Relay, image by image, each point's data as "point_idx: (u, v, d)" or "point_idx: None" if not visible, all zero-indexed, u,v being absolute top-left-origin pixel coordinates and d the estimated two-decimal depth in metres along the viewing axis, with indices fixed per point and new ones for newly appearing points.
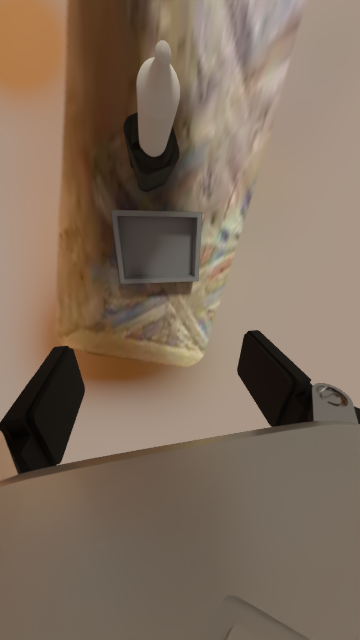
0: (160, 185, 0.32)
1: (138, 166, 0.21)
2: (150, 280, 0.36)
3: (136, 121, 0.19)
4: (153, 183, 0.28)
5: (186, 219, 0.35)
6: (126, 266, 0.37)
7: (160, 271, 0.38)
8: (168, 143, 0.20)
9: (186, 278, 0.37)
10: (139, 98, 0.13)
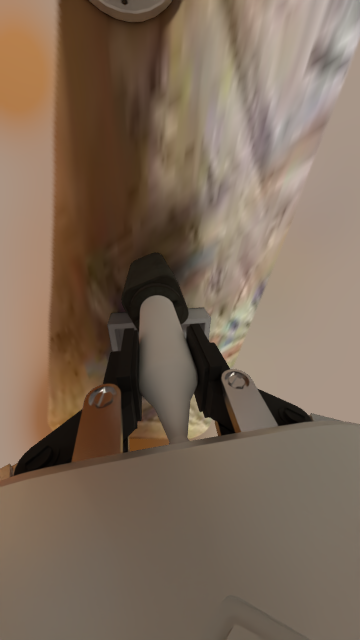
0: None
1: (139, 331, 0.17)
2: None
3: (137, 299, 0.15)
4: None
5: None
6: None
7: None
8: (176, 313, 0.16)
9: None
10: (142, 394, 0.09)
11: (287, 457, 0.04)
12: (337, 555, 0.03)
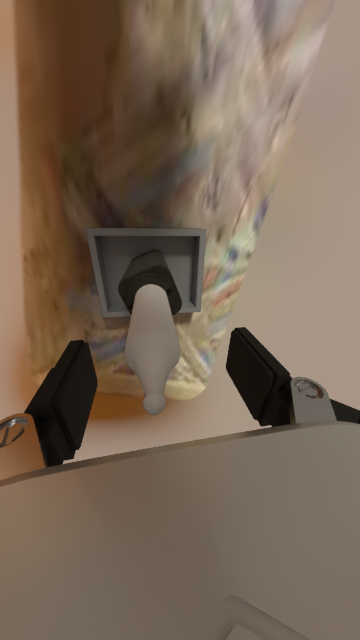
0: None
1: None
2: None
3: (132, 287, 0.16)
4: None
5: (185, 236, 0.28)
6: (111, 294, 0.30)
7: None
8: (169, 302, 0.17)
9: (185, 309, 0.30)
10: (128, 365, 0.10)
11: (287, 457, 0.04)
12: (337, 555, 0.03)
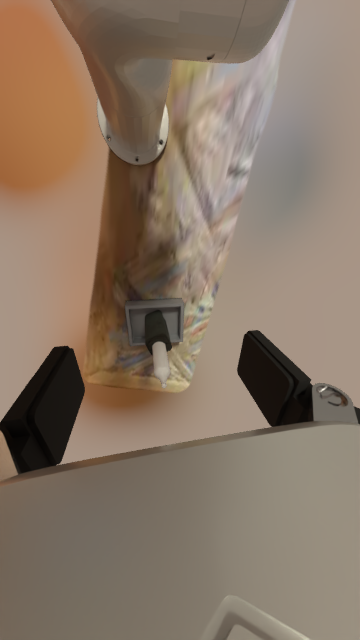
0: None
1: (151, 354, 0.43)
2: None
3: (151, 343, 0.41)
4: None
5: None
6: (133, 332, 0.54)
7: None
8: (166, 347, 0.42)
9: (174, 340, 0.54)
10: None
11: (287, 457, 0.04)
12: (337, 555, 0.03)
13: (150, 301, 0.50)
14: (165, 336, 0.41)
